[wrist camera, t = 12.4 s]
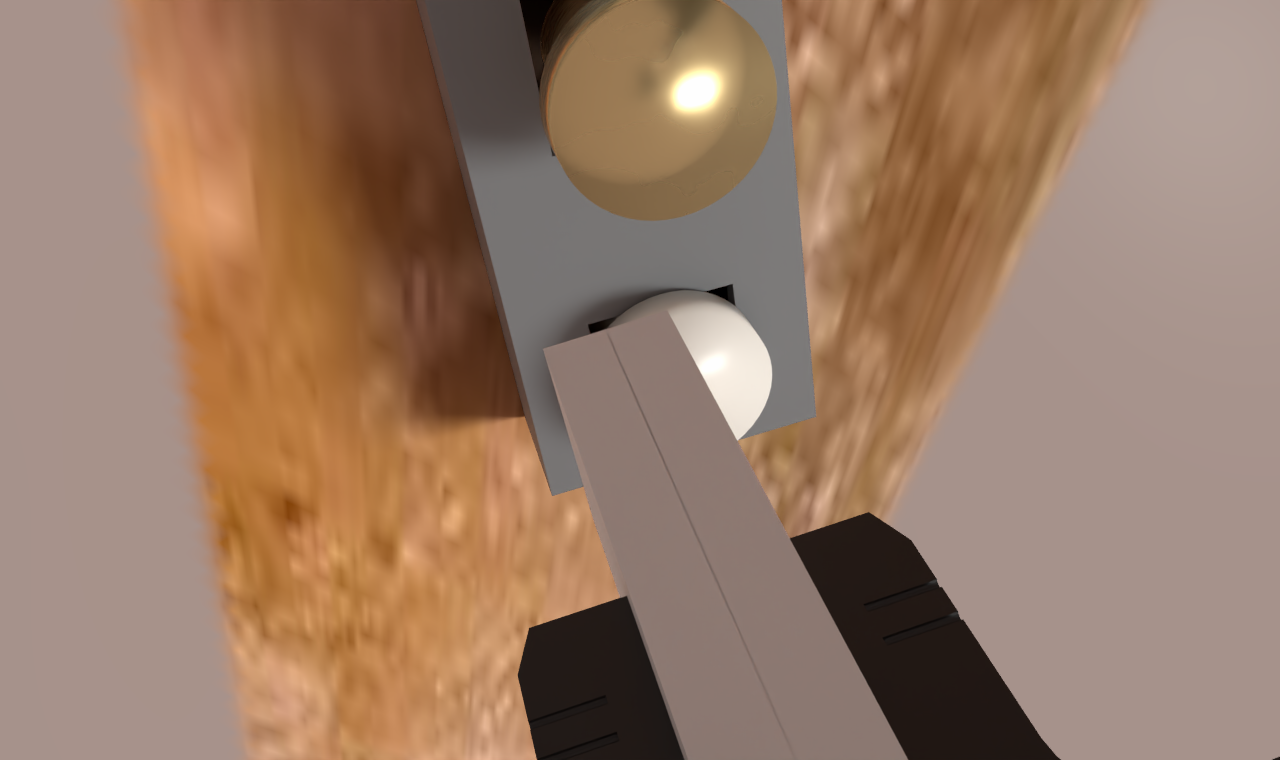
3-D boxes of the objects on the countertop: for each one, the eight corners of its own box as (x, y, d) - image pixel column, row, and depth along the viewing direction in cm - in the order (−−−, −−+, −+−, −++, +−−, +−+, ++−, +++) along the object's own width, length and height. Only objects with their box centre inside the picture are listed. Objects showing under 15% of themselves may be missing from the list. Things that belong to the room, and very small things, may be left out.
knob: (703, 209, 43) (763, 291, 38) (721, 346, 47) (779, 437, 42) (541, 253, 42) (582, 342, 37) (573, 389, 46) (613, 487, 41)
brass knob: (689, -87, 34) (766, -32, 29) (713, 109, 38) (785, 188, 33) (486, -40, 33) (529, 26, 28) (529, 156, 37) (575, 245, 32)
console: (663, -622, 30) (728, -653, 26) (767, 346, 48) (816, 416, 44) (270, -554, 29) (276, -577, 25) (525, 417, 46) (552, 496, 42)
